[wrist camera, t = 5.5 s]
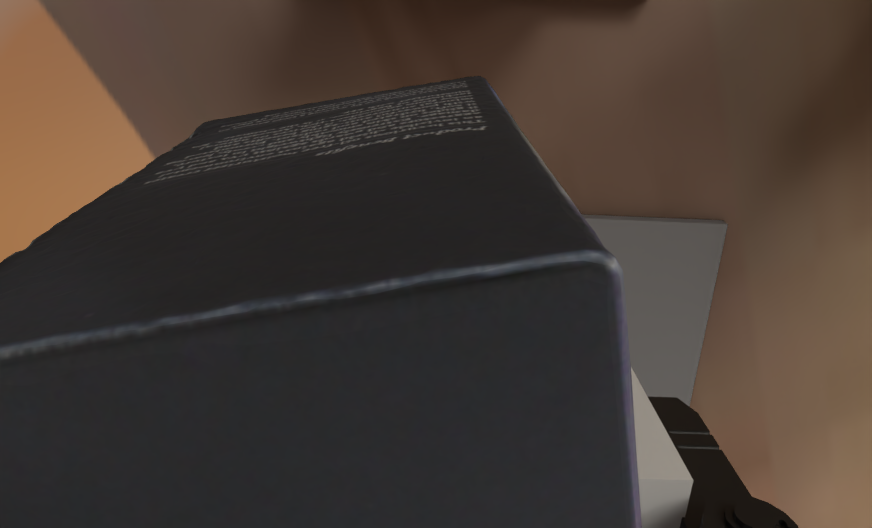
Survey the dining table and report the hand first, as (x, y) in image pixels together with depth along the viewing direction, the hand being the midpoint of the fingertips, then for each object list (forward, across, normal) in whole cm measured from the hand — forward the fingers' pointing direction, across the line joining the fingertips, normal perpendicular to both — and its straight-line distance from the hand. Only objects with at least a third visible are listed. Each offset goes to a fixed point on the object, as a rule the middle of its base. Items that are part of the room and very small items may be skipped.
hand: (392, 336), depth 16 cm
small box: (+1, 0, 0) cm, 1 cm away
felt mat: (+17, +10, -8) cm, 21 cm away
